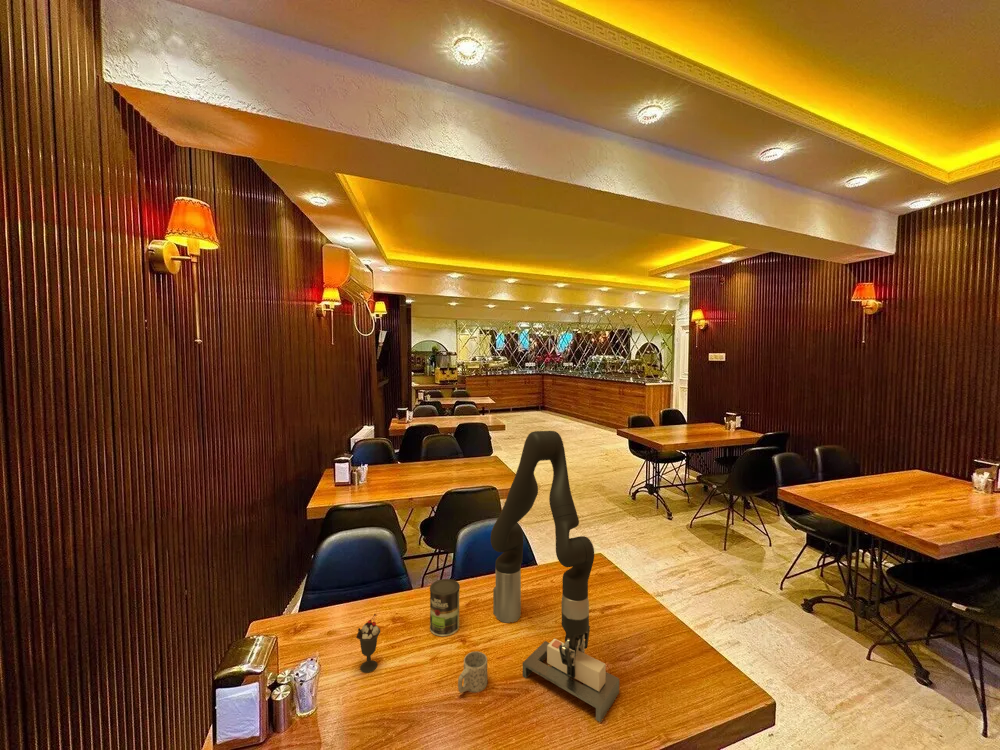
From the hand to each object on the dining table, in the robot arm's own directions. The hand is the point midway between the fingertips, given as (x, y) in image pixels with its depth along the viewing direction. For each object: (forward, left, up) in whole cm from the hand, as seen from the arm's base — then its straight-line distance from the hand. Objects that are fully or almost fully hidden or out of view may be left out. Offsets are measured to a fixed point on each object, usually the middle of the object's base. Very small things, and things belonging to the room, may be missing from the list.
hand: (575, 671), depth 109 cm
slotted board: (-2, 0, -5) cm, 5 cm away
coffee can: (-48, -5, -5) cm, 48 cm away
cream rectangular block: (0, 0, -3) cm, 3 cm away
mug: (-23, -18, -5) cm, 29 cm away
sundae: (-52, -32, -5) cm, 61 cm away
